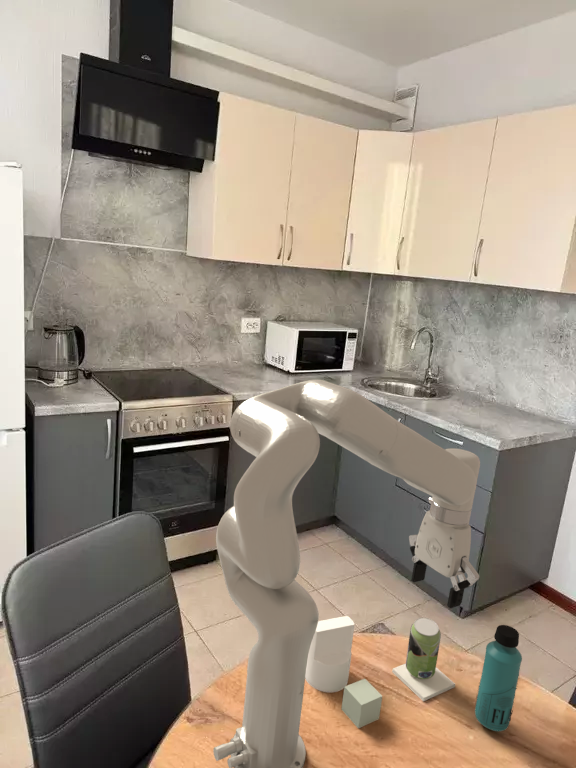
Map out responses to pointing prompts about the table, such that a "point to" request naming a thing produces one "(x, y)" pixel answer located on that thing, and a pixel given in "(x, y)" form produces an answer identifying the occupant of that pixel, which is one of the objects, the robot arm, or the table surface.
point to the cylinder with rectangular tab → (330, 654)
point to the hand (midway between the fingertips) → (435, 592)
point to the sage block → (361, 703)
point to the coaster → (424, 683)
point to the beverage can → (423, 648)
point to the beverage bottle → (499, 680)
